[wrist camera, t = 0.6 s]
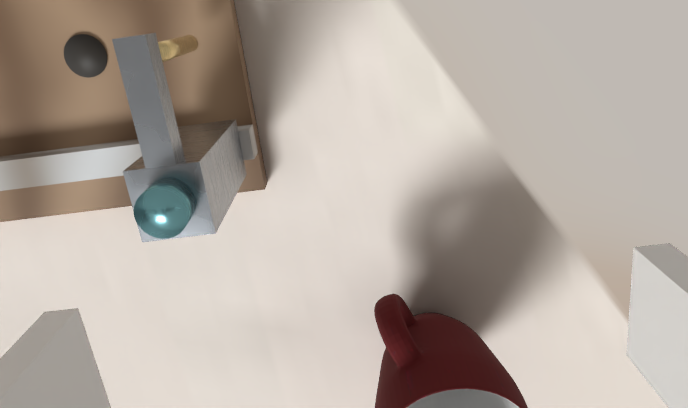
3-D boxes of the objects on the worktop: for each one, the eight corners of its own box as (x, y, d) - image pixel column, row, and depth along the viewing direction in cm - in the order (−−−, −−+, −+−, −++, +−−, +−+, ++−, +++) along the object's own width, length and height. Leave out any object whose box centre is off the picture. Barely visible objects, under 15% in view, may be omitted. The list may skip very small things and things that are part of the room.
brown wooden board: (-154, 234, 34) (-192, 253, 31) (-251, 30, 30) (-304, 33, 27) (267, 182, 33) (261, 197, 31) (227, -36, 29) (216, -39, 26)
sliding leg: (191, 181, 30) (132, 255, 21) (156, 30, 27) (71, 45, 19) (246, 174, 30) (209, 245, 21) (216, 22, 27) (159, 33, 18)
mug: (317, 306, 36) (310, 415, 27) (416, 232, 34) (446, 321, 25) (416, 407, 39) (441, 537, 29) (512, 344, 37) (571, 461, 28)
